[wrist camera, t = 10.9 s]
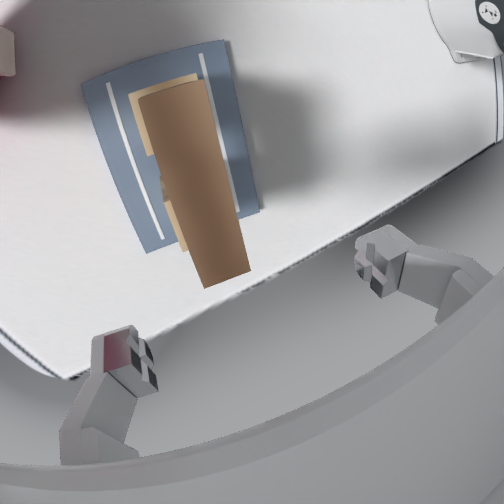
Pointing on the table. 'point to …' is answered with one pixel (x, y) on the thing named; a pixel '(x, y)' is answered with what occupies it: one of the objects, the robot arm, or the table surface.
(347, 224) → the table surface
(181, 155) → the walnut lintel
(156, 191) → the blueprint board
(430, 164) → the table surface
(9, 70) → the pink dragon fruit
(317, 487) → the robot arm
